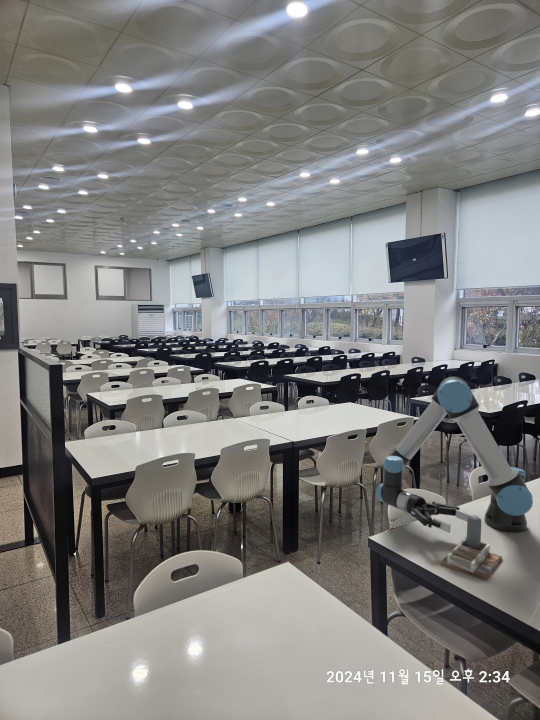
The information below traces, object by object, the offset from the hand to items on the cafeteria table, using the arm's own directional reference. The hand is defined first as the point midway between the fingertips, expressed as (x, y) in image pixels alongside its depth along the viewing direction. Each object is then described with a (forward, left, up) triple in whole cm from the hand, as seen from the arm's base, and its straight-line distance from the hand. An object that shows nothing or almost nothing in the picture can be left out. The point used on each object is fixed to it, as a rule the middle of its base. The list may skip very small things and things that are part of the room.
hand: (461, 524), depth 163 cm
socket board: (+5, +6, -10) cm, 12 cm away
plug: (+1, +5, -8) cm, 10 cm away
